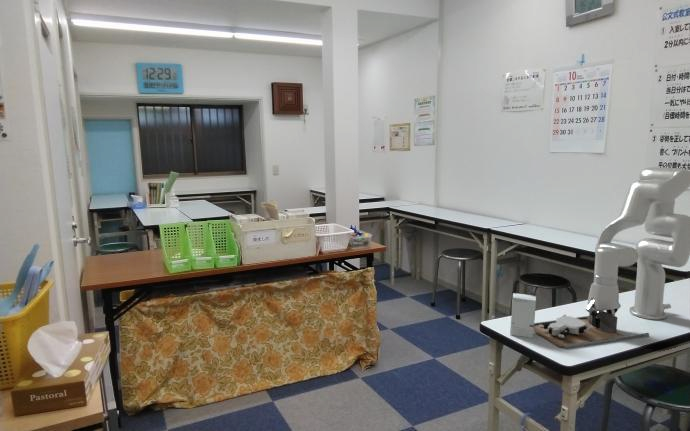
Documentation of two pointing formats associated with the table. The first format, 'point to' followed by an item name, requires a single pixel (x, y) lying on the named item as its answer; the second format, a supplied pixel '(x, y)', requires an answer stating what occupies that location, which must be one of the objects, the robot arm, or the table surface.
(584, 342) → the guide rails
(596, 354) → the table surface
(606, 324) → the brown rectangular mat
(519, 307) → the skincare box
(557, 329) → the robot toy
